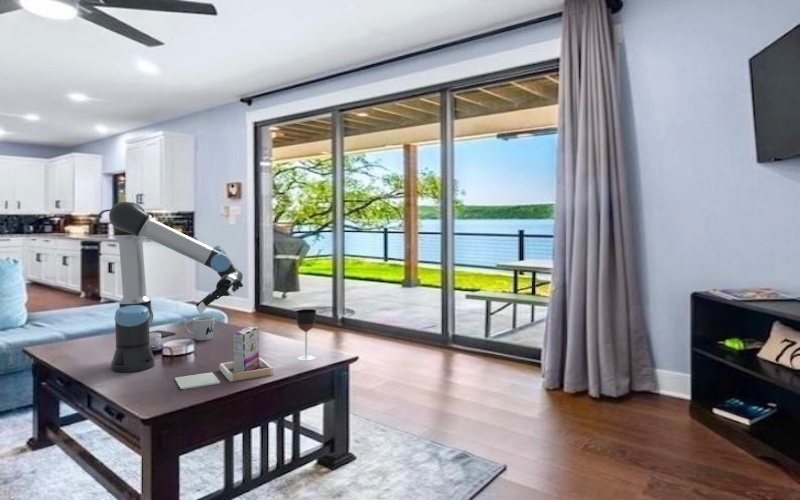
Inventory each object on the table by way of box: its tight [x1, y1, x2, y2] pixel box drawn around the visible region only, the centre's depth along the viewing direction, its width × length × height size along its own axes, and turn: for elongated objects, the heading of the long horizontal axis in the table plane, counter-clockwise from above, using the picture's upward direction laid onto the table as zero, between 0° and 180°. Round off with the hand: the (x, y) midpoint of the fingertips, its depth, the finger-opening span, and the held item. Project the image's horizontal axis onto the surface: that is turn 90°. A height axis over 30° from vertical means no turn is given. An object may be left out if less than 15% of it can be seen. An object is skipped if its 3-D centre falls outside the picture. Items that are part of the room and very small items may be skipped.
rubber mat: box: [174, 371, 221, 390], centre depth 179 cm, size 13×13×1 cm
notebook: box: [149, 329, 176, 339], centre depth 244 cm, size 13×2×21 cm
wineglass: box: [295, 308, 317, 361], centre depth 210 cm, size 8×9×20 cm
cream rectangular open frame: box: [219, 357, 275, 382], centre depth 191 cm, size 16×16×2 cm
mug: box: [183, 315, 216, 341], centre depth 243 cm, size 10×15×10 cm
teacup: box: [149, 333, 162, 348], centre depth 227 cm, size 10×8×5 cm
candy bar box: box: [232, 326, 260, 373], centre depth 190 cm, size 11×5×16 cm, turn 168°
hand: (214, 301), depth 191 cm, fingers open, 13 cm apart
